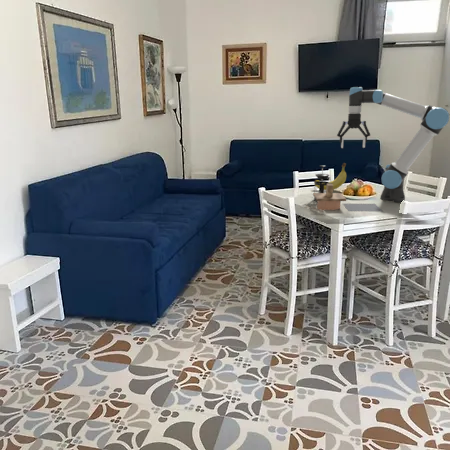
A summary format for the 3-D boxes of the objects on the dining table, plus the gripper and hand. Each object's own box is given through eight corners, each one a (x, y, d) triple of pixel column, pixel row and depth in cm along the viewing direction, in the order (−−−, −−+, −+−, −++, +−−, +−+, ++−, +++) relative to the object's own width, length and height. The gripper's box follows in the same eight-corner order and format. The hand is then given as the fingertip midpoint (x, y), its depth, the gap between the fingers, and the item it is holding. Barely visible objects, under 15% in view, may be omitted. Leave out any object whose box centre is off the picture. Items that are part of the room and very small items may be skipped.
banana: (313, 190, 325) (314, 163, 320) (313, 189, 330) (314, 162, 325) (345, 191, 320) (347, 163, 315) (345, 189, 326) (347, 162, 320)
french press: (313, 201, 290) (315, 166, 284) (312, 198, 299) (313, 164, 293) (331, 201, 289) (333, 166, 282) (329, 198, 298) (331, 164, 291)
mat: (374, 204, 279) (374, 203, 279) (383, 212, 260) (383, 211, 259) (342, 204, 280) (342, 203, 280) (348, 212, 261) (348, 211, 261)
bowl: (337, 205, 277) (338, 195, 276) (341, 210, 265) (341, 200, 263) (316, 205, 278) (316, 195, 277) (319, 210, 266) (319, 200, 264)
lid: (340, 195, 277) (341, 182, 275) (346, 201, 261) (347, 187, 259) (313, 195, 278) (313, 182, 276) (316, 200, 262) (317, 187, 260)
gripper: (373, 112, 279) (371, 146, 285) (333, 113, 281) (331, 147, 286) (376, 112, 272) (374, 147, 278) (335, 113, 274) (334, 148, 279)
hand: (352, 147), depth 282 cm, fingers open, 13 cm apart
